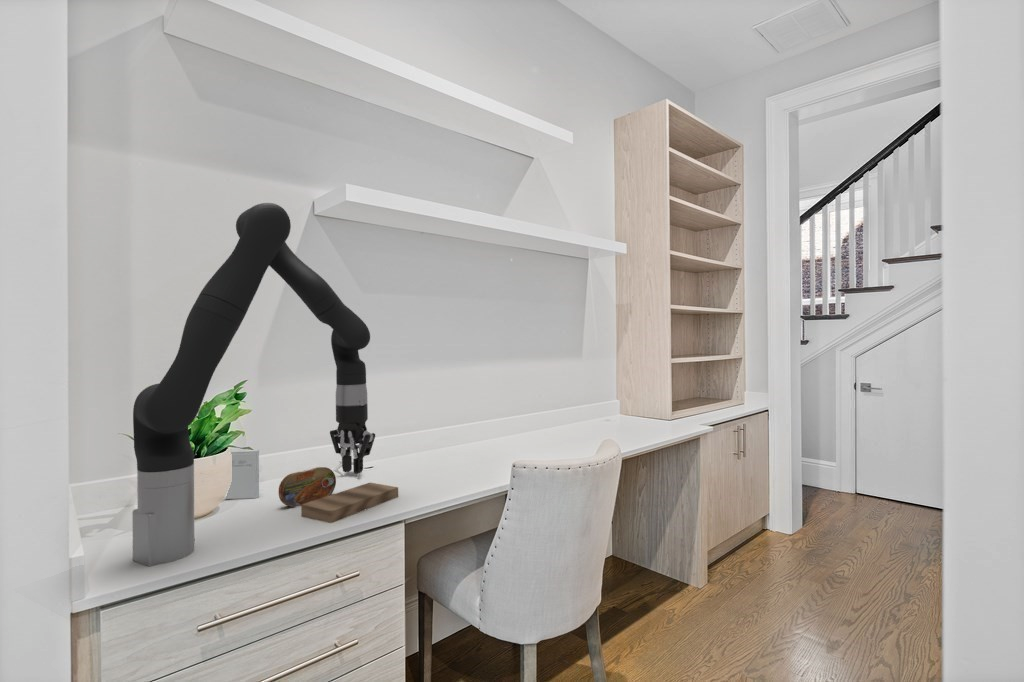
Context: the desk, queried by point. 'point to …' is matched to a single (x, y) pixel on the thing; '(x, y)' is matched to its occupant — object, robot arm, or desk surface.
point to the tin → (307, 486)
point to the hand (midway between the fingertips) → (352, 471)
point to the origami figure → (341, 466)
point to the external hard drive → (244, 475)
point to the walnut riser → (348, 502)
